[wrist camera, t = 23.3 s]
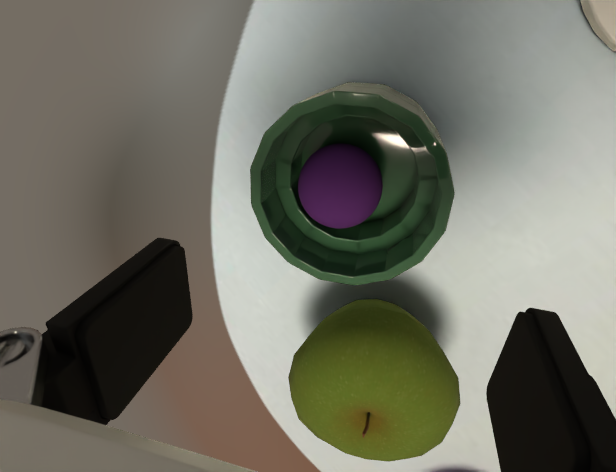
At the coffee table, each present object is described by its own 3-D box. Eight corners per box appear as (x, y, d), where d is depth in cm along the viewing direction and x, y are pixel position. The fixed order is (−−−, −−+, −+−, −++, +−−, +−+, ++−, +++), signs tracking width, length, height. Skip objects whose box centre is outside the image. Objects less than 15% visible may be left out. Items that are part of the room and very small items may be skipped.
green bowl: (283, 75, 23) (247, 83, 18) (459, 89, 21) (477, 102, 16) (280, 227, 28) (252, 268, 22) (424, 248, 26) (428, 298, 21)
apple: (302, 354, 33) (265, 462, 24) (322, 254, 28) (284, 346, 19) (425, 389, 31) (433, 519, 23) (469, 290, 26) (499, 408, 18)
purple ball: (327, 124, 23) (278, 152, 20) (401, 141, 21) (360, 175, 18) (325, 193, 26) (283, 227, 23) (391, 215, 24) (354, 256, 21)
